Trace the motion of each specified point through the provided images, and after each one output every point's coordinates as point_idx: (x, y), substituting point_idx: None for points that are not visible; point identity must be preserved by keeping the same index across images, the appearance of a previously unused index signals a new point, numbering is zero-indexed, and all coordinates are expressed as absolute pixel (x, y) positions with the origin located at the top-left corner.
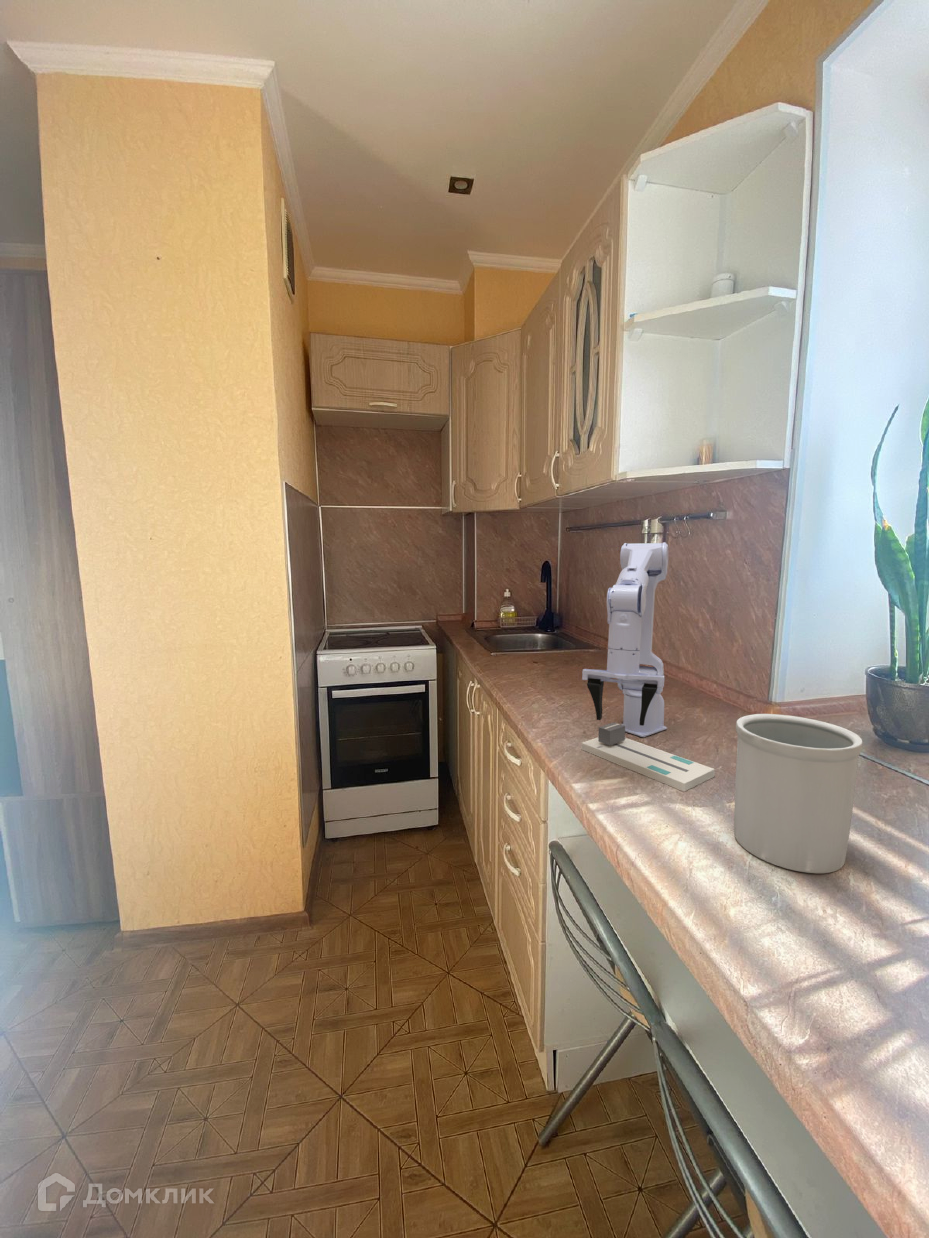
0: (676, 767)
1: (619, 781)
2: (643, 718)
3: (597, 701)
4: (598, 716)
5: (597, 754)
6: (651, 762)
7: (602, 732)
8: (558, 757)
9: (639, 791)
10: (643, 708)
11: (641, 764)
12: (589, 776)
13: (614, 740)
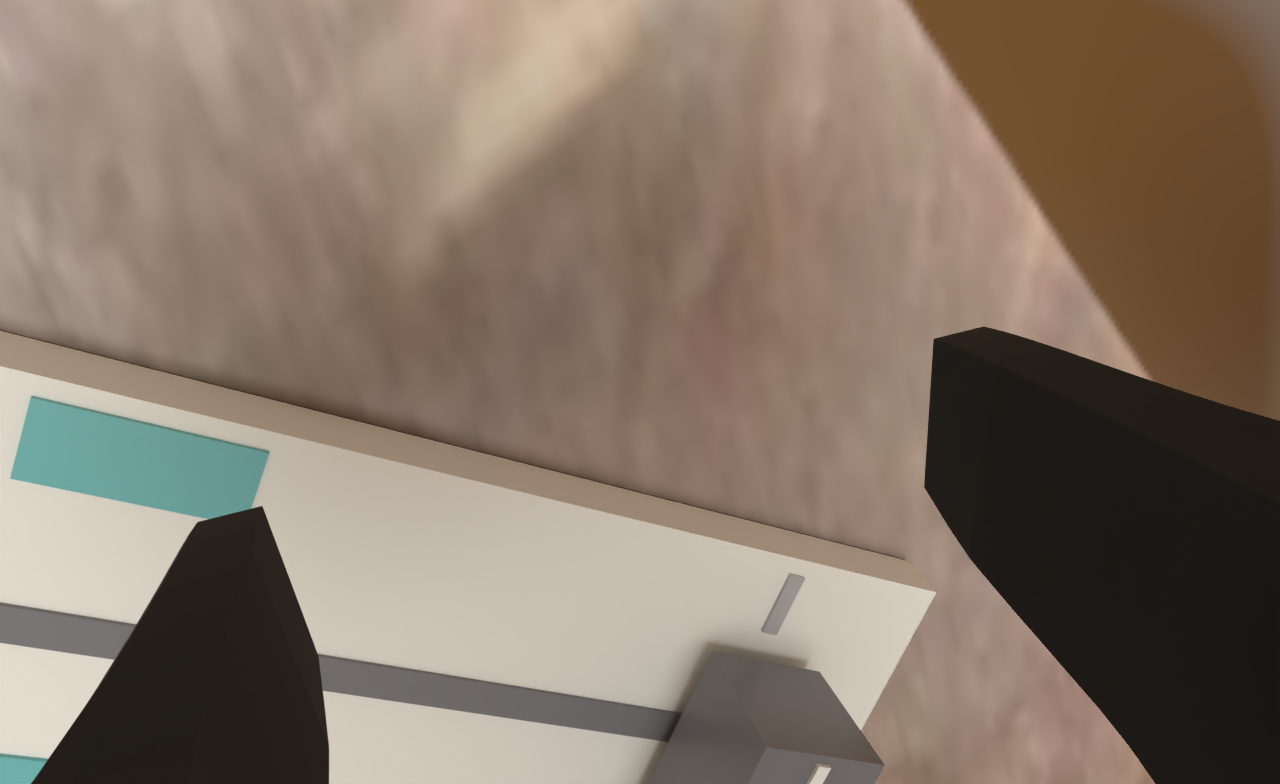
0: (11, 612)
1: (441, 146)
2: (166, 595)
3: (1252, 459)
4: (1000, 346)
5: (768, 531)
6: None
7: (826, 730)
8: (1032, 316)
9: (190, 29)
10: (135, 749)
11: (341, 487)
12: (714, 96)
13: (697, 728)
